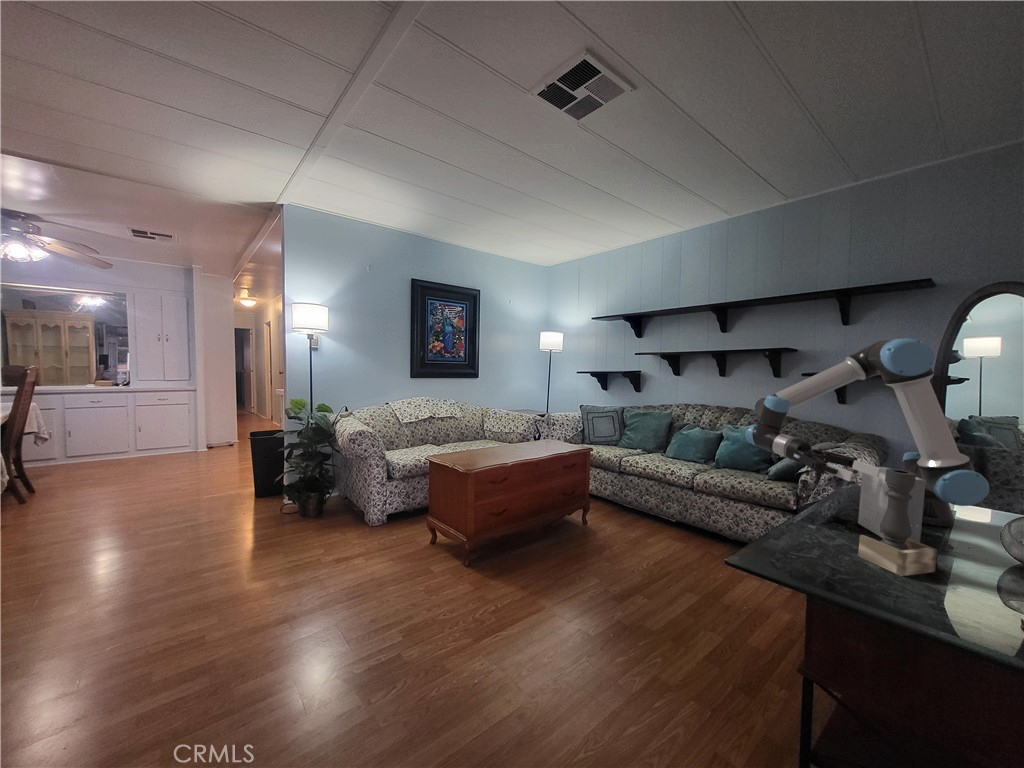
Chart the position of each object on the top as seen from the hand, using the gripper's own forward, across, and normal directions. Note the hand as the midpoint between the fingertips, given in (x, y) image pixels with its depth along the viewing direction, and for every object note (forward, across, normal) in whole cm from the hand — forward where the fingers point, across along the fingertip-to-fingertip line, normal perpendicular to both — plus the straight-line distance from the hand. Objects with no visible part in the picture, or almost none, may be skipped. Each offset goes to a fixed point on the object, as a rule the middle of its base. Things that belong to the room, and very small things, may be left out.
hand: (865, 475), depth 115 cm
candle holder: (+13, +4, -20) cm, 24 cm away
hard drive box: (+2, -17, -21) cm, 27 cm away
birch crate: (+12, +4, -19) cm, 23 cm away
